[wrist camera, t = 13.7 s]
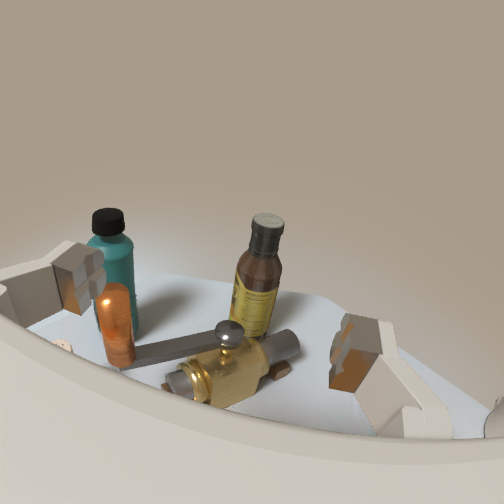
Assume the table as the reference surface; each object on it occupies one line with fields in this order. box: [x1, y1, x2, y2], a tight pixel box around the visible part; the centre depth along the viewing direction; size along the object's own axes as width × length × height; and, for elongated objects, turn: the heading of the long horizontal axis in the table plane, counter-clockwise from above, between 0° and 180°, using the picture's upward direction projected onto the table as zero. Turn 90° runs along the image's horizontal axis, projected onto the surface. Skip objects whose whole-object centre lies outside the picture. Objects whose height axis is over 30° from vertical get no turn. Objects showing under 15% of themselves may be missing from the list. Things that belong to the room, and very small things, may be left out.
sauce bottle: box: [229, 213, 284, 341], centre depth 45 cm, size 6×6×20 cm
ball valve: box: [161, 329, 300, 409], centre depth 38 cm, size 18×6×10 cm, turn 125°
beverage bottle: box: [87, 208, 139, 335], centre depth 39 cm, size 6×7×20 cm
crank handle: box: [95, 282, 245, 371], centre depth 30 cm, size 15×3×9 cm, turn 119°
